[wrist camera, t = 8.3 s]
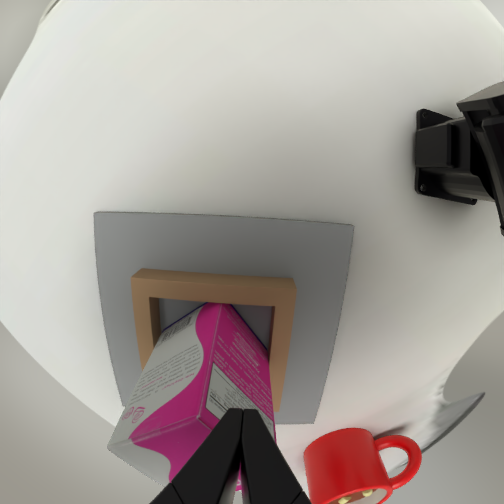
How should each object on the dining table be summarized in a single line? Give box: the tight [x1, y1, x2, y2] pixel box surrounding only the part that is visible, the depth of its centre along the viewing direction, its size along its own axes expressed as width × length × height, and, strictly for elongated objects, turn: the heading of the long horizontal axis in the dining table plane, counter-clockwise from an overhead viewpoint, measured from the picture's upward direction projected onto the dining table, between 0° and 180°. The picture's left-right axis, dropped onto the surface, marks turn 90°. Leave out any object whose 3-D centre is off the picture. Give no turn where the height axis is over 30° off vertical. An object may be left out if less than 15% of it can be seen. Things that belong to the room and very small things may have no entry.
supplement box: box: [107, 302, 277, 491], centre depth 15 cm, size 6×6×12 cm
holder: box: [94, 212, 354, 424], centre depth 20 cm, size 18×18×3 cm
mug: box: [304, 428, 422, 504], centre depth 21 cm, size 8×12×8 cm, turn 111°
